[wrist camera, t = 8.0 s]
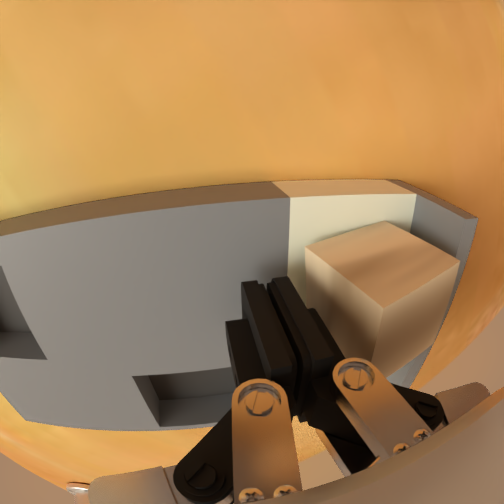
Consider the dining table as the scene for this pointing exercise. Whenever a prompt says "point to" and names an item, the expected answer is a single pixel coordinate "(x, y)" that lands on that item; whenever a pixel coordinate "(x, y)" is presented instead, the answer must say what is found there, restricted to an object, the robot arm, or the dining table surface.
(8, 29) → the dining table surface
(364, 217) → the board
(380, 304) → the block
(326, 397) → the robot arm
